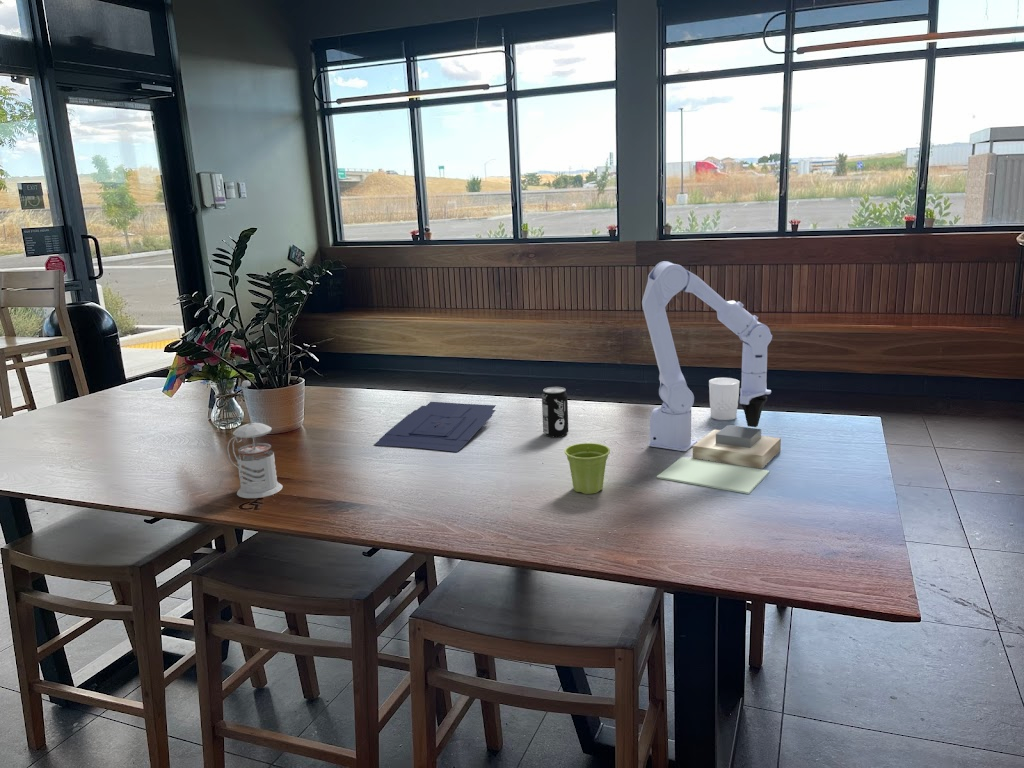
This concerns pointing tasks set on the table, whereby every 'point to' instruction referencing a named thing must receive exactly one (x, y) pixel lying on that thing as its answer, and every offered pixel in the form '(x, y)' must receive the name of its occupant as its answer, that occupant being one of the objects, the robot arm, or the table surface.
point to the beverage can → (555, 411)
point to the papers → (438, 426)
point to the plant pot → (587, 466)
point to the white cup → (724, 398)
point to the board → (737, 451)
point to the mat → (714, 475)
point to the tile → (738, 436)
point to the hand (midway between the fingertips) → (752, 426)
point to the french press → (255, 461)
